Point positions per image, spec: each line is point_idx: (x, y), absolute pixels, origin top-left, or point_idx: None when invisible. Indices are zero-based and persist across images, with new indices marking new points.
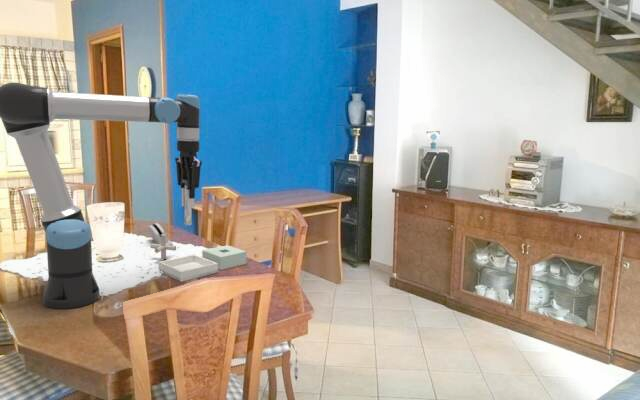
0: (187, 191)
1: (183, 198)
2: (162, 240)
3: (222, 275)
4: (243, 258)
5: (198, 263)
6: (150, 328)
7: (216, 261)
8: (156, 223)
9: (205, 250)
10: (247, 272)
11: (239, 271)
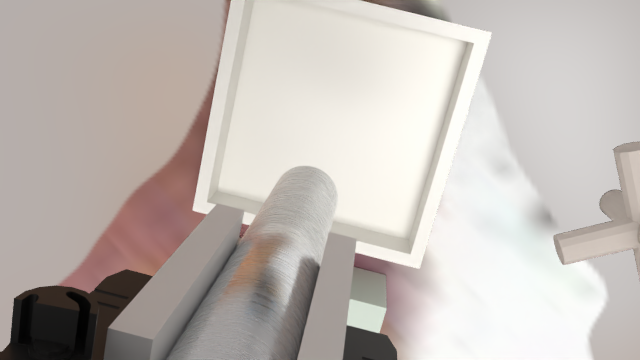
0: (138, 310)
1: (315, 287)
2: None
3: (160, 176)
4: None
5: (362, 226)
6: None
7: None
8: None
9: (367, 314)
10: (100, 277)
11: (139, 268)
